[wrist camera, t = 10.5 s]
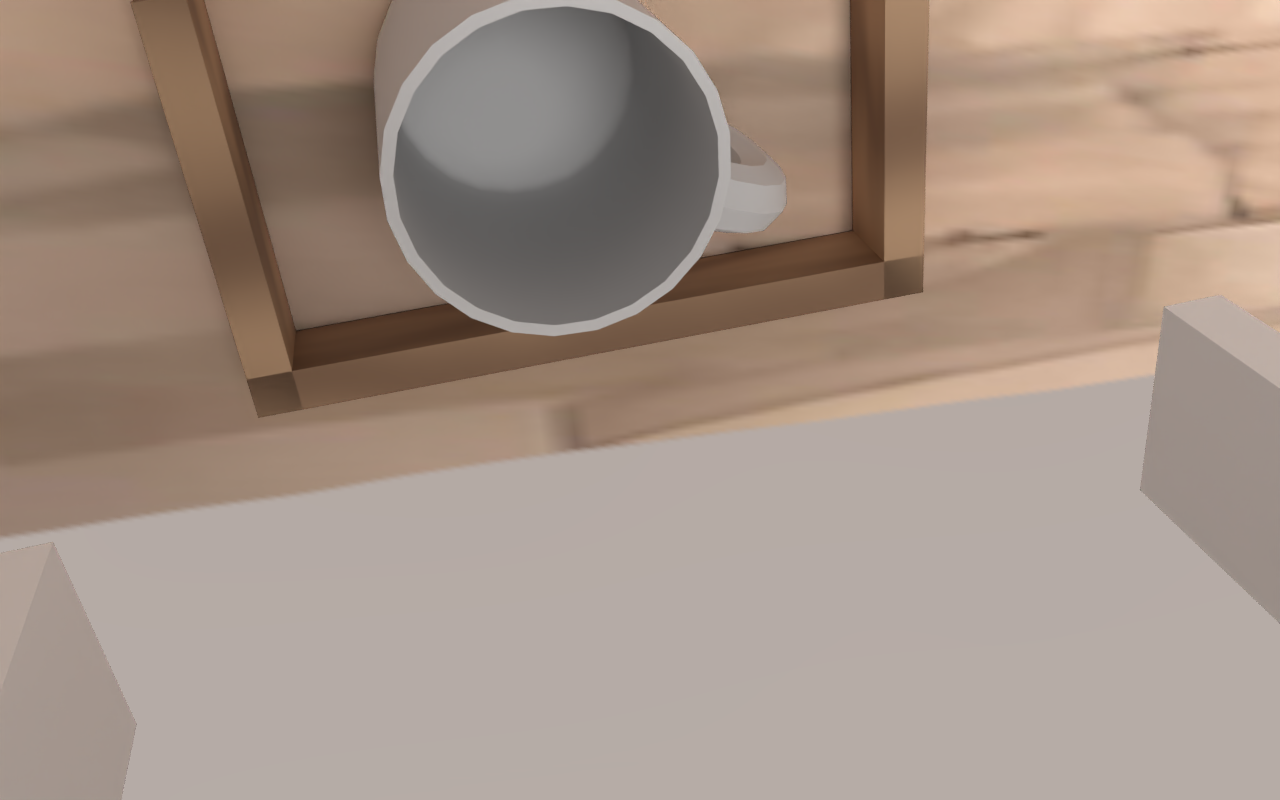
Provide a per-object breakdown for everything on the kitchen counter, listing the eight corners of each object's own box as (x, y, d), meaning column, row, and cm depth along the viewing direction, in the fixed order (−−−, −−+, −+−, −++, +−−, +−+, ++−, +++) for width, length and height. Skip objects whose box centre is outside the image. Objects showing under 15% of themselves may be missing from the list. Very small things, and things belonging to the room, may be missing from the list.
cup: (409, -114, 29) (430, -60, 22) (771, 7, 32) (900, 91, 25) (345, 162, 32) (343, 296, 24) (683, 248, 35) (774, 389, 28)
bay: (146, -17, 29) (130, 2, 27) (892, -122, 31) (931, -112, 29) (264, 375, 34) (258, 417, 32) (889, 259, 37) (923, 291, 35)
